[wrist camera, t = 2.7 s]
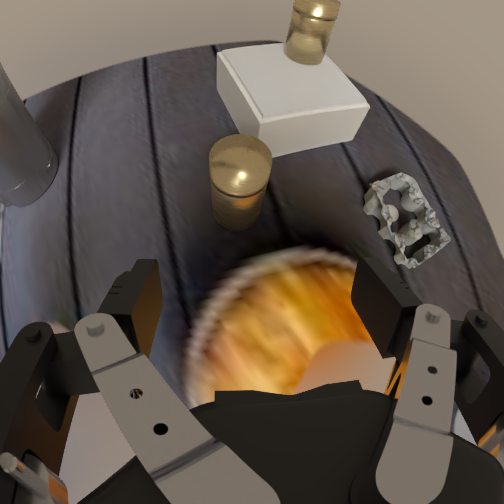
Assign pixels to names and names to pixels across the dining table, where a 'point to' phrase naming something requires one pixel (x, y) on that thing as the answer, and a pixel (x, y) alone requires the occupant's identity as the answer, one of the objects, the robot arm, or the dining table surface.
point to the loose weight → (238, 180)
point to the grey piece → (415, 227)
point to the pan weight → (310, 30)
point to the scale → (288, 99)
